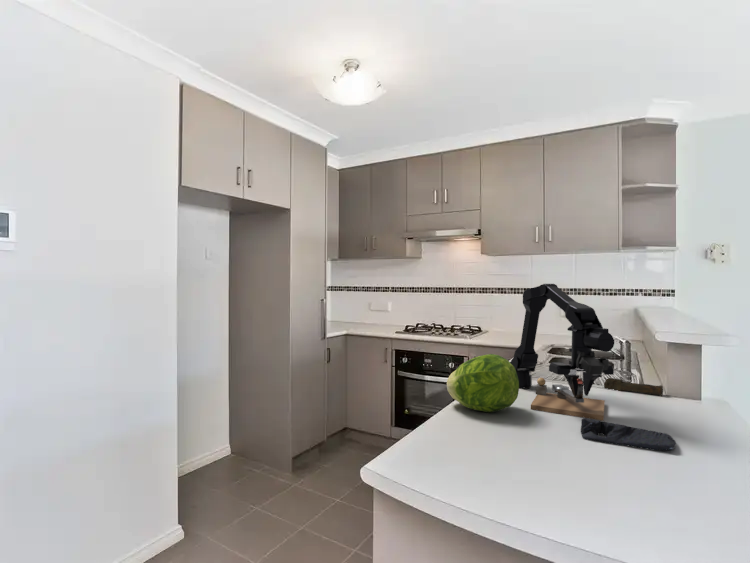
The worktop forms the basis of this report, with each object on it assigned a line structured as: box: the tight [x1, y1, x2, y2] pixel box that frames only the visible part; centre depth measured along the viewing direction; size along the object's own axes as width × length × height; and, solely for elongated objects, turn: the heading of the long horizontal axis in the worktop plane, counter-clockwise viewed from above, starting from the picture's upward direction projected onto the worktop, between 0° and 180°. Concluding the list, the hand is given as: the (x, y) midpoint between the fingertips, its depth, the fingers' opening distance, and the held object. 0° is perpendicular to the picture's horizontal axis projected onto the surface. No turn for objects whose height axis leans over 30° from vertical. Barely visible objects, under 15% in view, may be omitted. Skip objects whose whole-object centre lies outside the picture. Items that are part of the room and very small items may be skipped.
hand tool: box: [603, 377, 664, 397], centre depth 159 cm, size 19×4×5 cm, turn 56°
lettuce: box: [446, 353, 520, 413], centre depth 137 cm, size 19×23×18 cm
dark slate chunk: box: [580, 417, 677, 451], centre depth 114 cm, size 15×22×5 cm
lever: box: [551, 377, 585, 403], centre depth 141 cm, size 18×4×8 cm, turn 0°
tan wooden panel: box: [530, 377, 606, 422], centre depth 140 cm, size 22×18×7 cm
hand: (580, 395), depth 133 cm, fingers open, 3 cm apart
